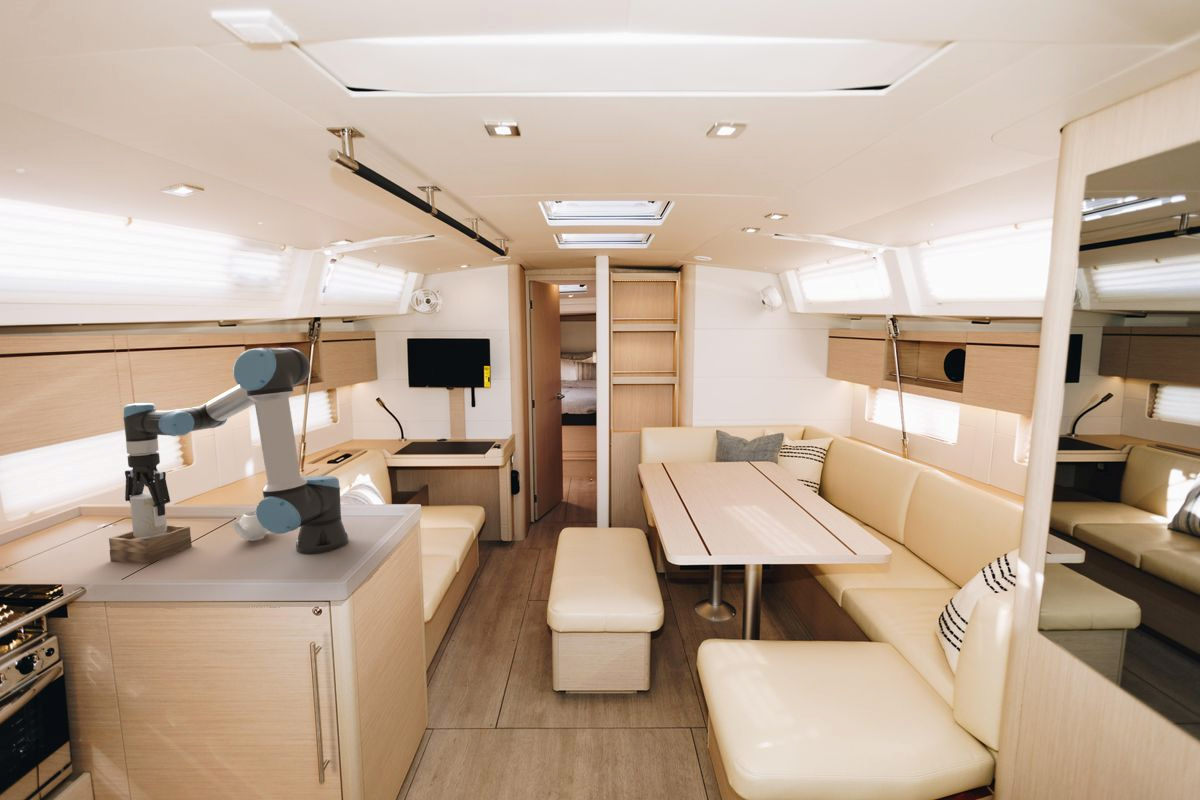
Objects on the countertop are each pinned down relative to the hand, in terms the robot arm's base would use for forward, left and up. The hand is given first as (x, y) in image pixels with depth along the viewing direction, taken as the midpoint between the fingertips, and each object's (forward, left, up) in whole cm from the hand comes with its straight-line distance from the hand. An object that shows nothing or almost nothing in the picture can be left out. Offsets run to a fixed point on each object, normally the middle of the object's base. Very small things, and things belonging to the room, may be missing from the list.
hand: (149, 524), depth 169 cm
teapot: (-21, -19, -10) cm, 30 cm away
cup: (0, 0, -3) cm, 3 cm away
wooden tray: (0, 0, -6) cm, 6 cm away
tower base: (0, 0, -10) cm, 10 cm away
